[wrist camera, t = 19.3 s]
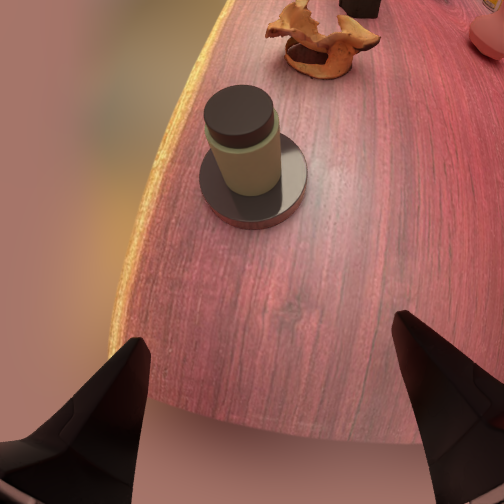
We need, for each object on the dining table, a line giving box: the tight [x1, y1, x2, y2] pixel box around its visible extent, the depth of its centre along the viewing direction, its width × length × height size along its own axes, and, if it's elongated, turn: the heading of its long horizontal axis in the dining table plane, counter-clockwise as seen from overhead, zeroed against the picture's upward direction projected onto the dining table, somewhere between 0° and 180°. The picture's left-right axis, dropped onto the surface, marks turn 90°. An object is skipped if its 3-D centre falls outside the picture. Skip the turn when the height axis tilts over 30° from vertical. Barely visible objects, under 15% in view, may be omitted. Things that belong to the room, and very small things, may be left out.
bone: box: [265, 0, 381, 80], centre depth 25 cm, size 12×10×8 cm
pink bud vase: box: [469, 1, 504, 60], centre depth 22 cm, size 8×8×12 cm
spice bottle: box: [204, 85, 281, 196], centre depth 20 cm, size 5×5×8 cm
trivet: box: [199, 133, 307, 230], centre depth 25 cm, size 9×9×2 cm
